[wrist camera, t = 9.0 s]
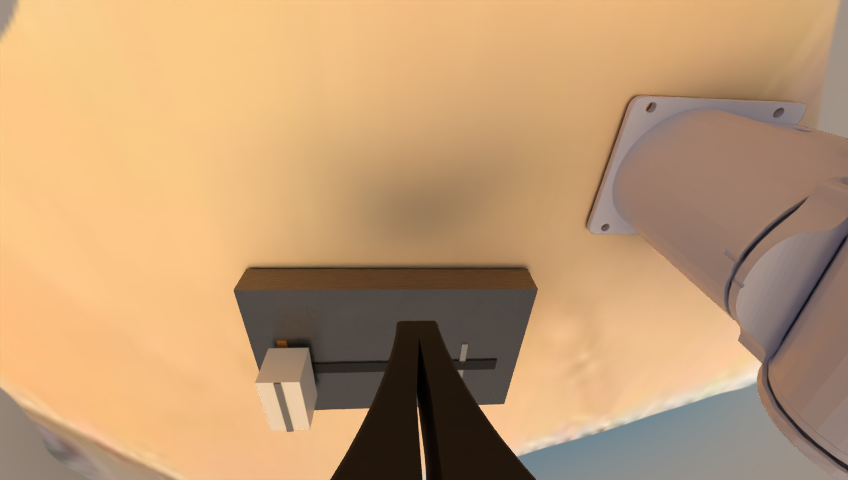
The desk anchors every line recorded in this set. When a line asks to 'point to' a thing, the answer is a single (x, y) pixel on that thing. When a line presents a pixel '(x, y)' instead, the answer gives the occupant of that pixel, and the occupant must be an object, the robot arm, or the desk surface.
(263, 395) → the fader knob
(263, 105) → the desk surface
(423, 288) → the fader console
